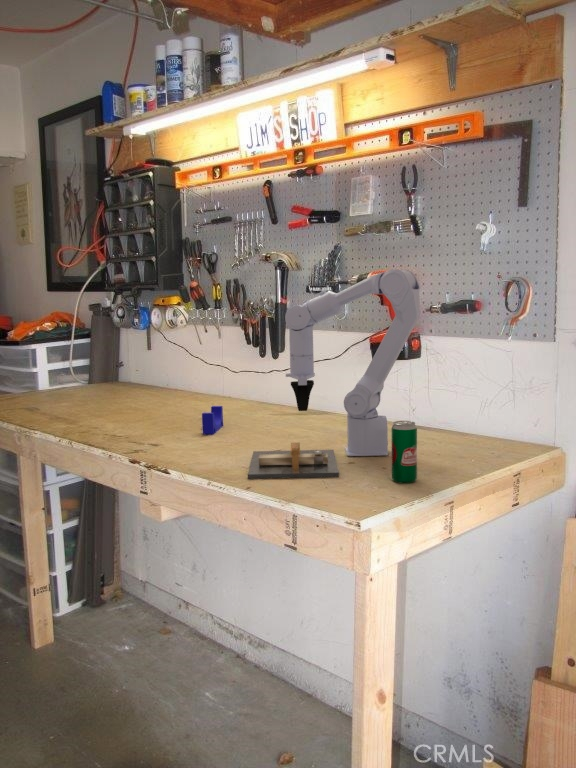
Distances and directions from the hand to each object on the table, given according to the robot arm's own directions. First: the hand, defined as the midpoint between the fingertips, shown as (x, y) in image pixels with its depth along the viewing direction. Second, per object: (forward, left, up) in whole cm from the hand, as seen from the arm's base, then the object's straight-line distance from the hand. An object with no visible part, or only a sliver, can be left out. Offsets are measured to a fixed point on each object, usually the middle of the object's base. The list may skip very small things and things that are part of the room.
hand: (302, 410), depth 167 cm
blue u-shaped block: (+26, -24, -10) cm, 37 cm away
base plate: (+3, +17, -9) cm, 19 cm away
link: (+3, +19, -8) cm, 21 cm away
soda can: (-20, +30, -10) cm, 37 cm away
